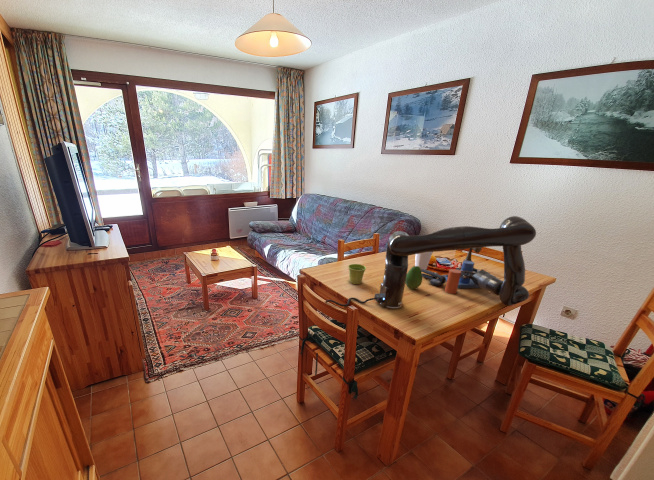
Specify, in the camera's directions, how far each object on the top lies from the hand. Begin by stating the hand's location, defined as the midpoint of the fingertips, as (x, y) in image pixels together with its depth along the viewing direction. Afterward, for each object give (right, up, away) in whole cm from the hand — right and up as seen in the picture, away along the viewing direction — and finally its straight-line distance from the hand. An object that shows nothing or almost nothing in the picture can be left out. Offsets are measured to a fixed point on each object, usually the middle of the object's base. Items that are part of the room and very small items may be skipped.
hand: (463, 269), depth 164 cm
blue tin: (0, -7, +1) cm, 7 cm away
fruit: (-30, -10, -6) cm, 32 cm away
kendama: (+14, +1, +21) cm, 25 cm away
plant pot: (-57, -7, +1) cm, 58 cm away
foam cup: (-13, +1, +21) cm, 25 cm away
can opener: (-16, -6, +3) cm, 17 cm away
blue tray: (0, -7, +1) cm, 7 cm away
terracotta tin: (-12, -12, -10) cm, 20 cm away
